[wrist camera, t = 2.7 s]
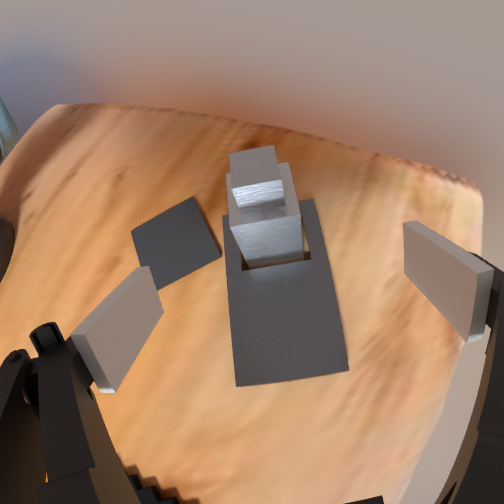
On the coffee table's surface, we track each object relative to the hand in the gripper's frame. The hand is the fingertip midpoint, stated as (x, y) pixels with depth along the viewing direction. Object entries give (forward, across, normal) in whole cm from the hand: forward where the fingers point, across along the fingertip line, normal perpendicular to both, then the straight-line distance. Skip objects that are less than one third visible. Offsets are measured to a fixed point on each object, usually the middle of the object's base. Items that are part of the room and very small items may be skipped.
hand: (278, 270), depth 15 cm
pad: (+16, -11, -2) cm, 19 cm away
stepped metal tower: (+14, -1, -3) cm, 15 cm away
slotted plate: (+11, -1, -6) cm, 13 cm away
